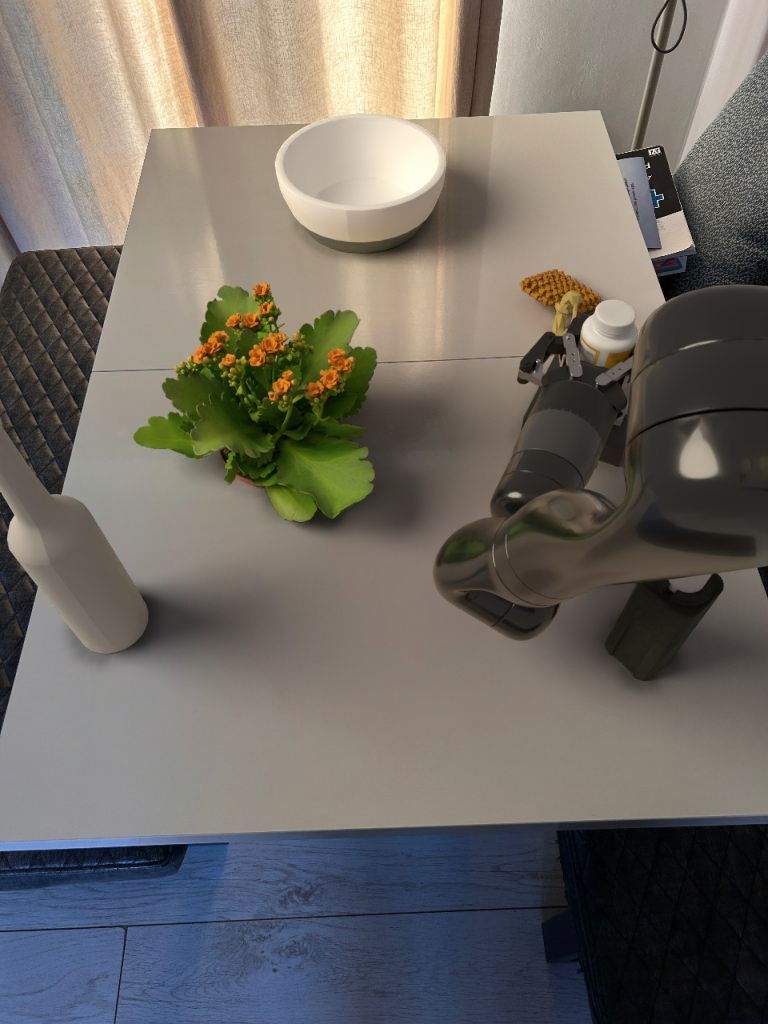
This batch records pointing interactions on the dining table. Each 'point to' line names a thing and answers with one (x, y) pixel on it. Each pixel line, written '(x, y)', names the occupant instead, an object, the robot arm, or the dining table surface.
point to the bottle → (70, 559)
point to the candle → (660, 621)
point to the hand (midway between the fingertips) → (612, 329)
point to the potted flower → (273, 404)
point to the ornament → (560, 296)
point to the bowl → (361, 180)
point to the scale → (617, 435)
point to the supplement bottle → (608, 334)
